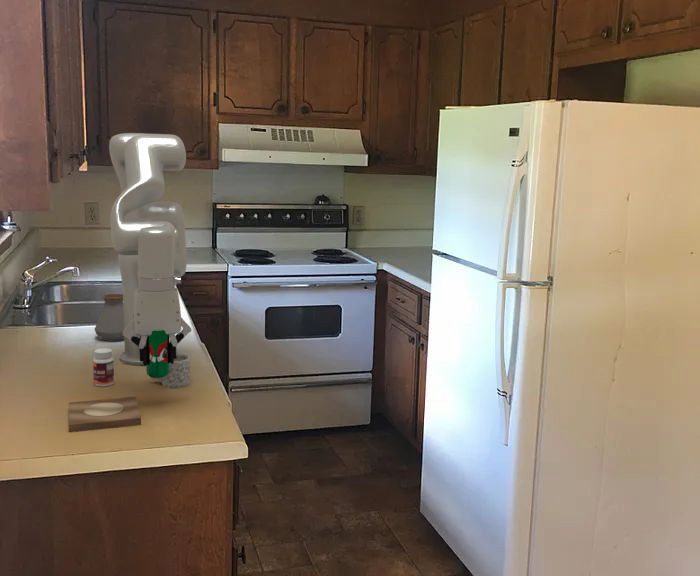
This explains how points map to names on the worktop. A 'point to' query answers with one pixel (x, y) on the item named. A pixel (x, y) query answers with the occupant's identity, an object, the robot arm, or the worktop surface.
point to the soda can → (158, 354)
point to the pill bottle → (103, 367)
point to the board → (103, 414)
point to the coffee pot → (111, 318)
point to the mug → (177, 373)
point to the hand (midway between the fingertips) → (158, 362)
